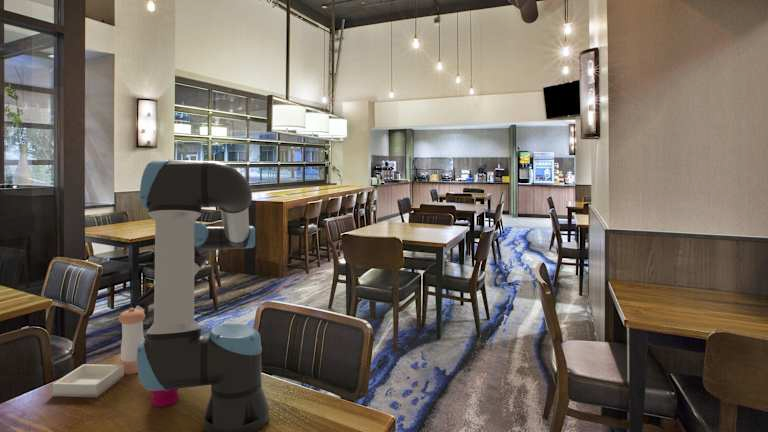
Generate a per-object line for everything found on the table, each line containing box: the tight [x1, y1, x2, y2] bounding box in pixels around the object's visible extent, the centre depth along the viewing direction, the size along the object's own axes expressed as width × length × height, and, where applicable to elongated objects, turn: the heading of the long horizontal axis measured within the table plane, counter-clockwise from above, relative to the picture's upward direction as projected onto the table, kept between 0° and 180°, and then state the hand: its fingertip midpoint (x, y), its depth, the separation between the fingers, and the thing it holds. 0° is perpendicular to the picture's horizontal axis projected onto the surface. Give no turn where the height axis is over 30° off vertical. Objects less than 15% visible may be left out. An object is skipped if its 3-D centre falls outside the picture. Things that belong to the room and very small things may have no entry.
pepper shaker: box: [118, 307, 146, 375], centre depth 132 cm, size 7×7×19 cm
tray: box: [51, 363, 125, 398], centre depth 122 cm, size 12×12×4 cm
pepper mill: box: [149, 389, 180, 408], centre depth 114 cm, size 7×7×20 cm
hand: (138, 330), depth 134 cm, fingers open, 13 cm apart
